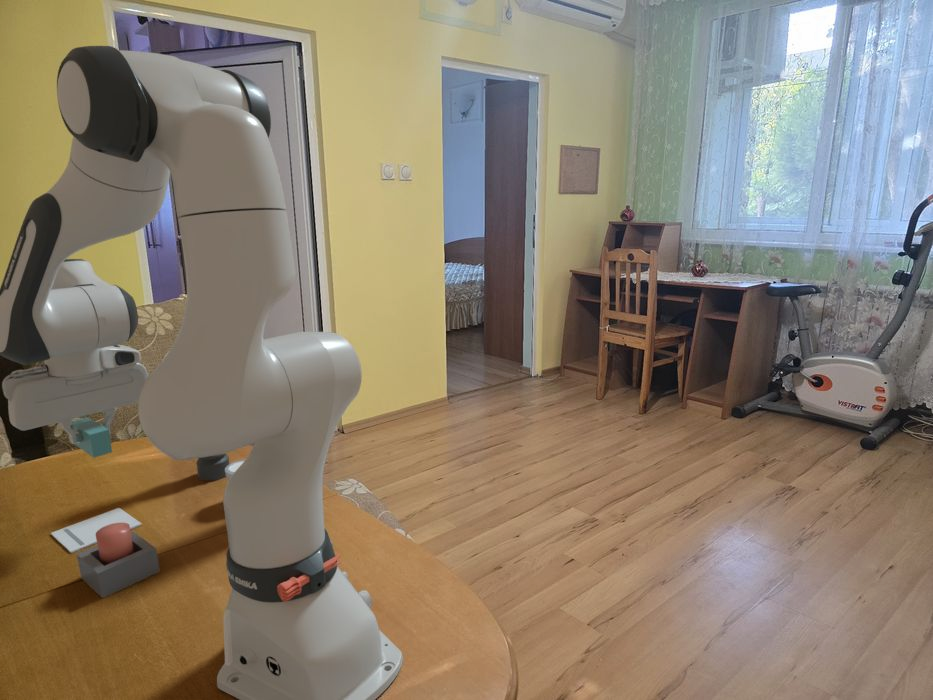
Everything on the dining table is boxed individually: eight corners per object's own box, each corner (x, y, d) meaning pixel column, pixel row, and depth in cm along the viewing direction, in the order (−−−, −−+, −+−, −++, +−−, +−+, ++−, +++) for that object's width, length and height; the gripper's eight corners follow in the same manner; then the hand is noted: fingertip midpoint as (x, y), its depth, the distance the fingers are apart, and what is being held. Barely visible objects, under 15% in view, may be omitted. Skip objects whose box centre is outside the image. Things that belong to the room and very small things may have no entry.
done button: (139, 558, 90) (134, 528, 89) (108, 572, 87) (102, 541, 86) (127, 548, 93) (122, 519, 92) (96, 561, 89) (90, 531, 88)
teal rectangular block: (112, 452, 99) (108, 429, 98) (93, 457, 97) (89, 434, 96) (91, 438, 105) (87, 417, 104) (73, 443, 102) (69, 421, 101)
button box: (159, 571, 91) (155, 548, 90) (102, 598, 85) (97, 573, 84) (136, 553, 96) (133, 531, 95) (81, 577, 90) (76, 554, 89)
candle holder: (216, 482, 120) (200, 363, 115) (191, 478, 122) (174, 361, 117) (236, 469, 126) (222, 355, 120) (213, 466, 128) (198, 353, 122)
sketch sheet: (141, 525, 105) (141, 523, 105) (71, 553, 96) (70, 551, 96) (119, 509, 110) (119, 507, 110) (50, 534, 102) (50, 532, 102)
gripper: (5, 377, 87) (23, 464, 91) (150, 350, 102) (160, 425, 106) (-7, 369, 91) (10, 453, 94) (134, 344, 106) (144, 417, 110)
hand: (90, 438), depth 100 cm, fingers closed on teal rectangular block, 3 cm apart
